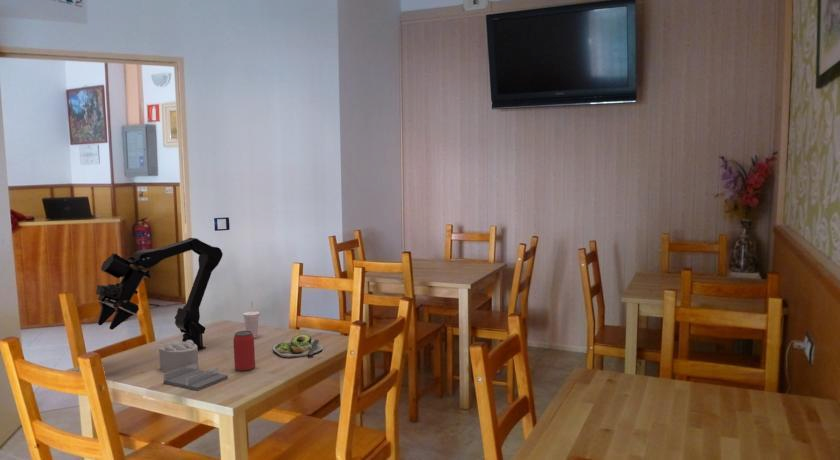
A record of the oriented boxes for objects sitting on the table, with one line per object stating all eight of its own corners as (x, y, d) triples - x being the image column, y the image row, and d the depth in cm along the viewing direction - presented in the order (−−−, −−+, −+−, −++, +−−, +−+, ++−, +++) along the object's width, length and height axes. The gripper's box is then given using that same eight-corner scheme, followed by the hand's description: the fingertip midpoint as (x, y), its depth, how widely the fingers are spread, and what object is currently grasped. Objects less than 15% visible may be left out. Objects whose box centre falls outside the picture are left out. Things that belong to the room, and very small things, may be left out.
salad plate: (332, 355, 218) (332, 342, 218) (283, 363, 210) (282, 350, 210) (315, 342, 235) (315, 330, 235) (268, 349, 227) (268, 337, 227)
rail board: (194, 371, 202) (194, 362, 202) (227, 378, 195) (227, 369, 194) (163, 383, 191) (163, 373, 191) (197, 390, 184) (197, 380, 184)
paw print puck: (183, 360, 214) (182, 336, 214) (206, 367, 207) (205, 341, 206) (155, 368, 206) (154, 343, 205) (179, 375, 198) (177, 349, 198)
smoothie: (264, 336, 244) (262, 301, 243) (251, 340, 239) (250, 304, 237) (252, 334, 247) (251, 300, 246) (240, 338, 242) (238, 303, 241)
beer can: (231, 368, 205) (229, 333, 203) (249, 363, 209) (247, 329, 208) (240, 372, 200) (239, 336, 199) (259, 368, 204) (257, 332, 203)
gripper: (96, 271, 210) (71, 313, 204) (120, 276, 197) (93, 321, 192) (125, 285, 217) (101, 326, 212) (149, 291, 205) (125, 335, 199)
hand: (104, 327), depth 204 cm, fingers open, 9 cm apart
